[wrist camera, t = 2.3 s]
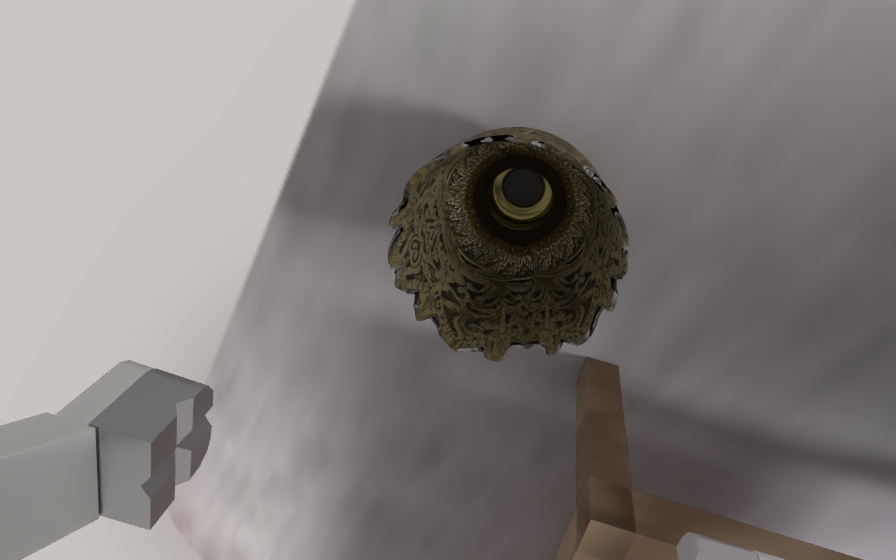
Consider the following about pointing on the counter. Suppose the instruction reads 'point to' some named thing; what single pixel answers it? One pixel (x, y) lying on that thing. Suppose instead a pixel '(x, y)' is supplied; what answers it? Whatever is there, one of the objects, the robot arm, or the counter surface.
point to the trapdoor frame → (641, 494)
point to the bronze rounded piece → (509, 245)
